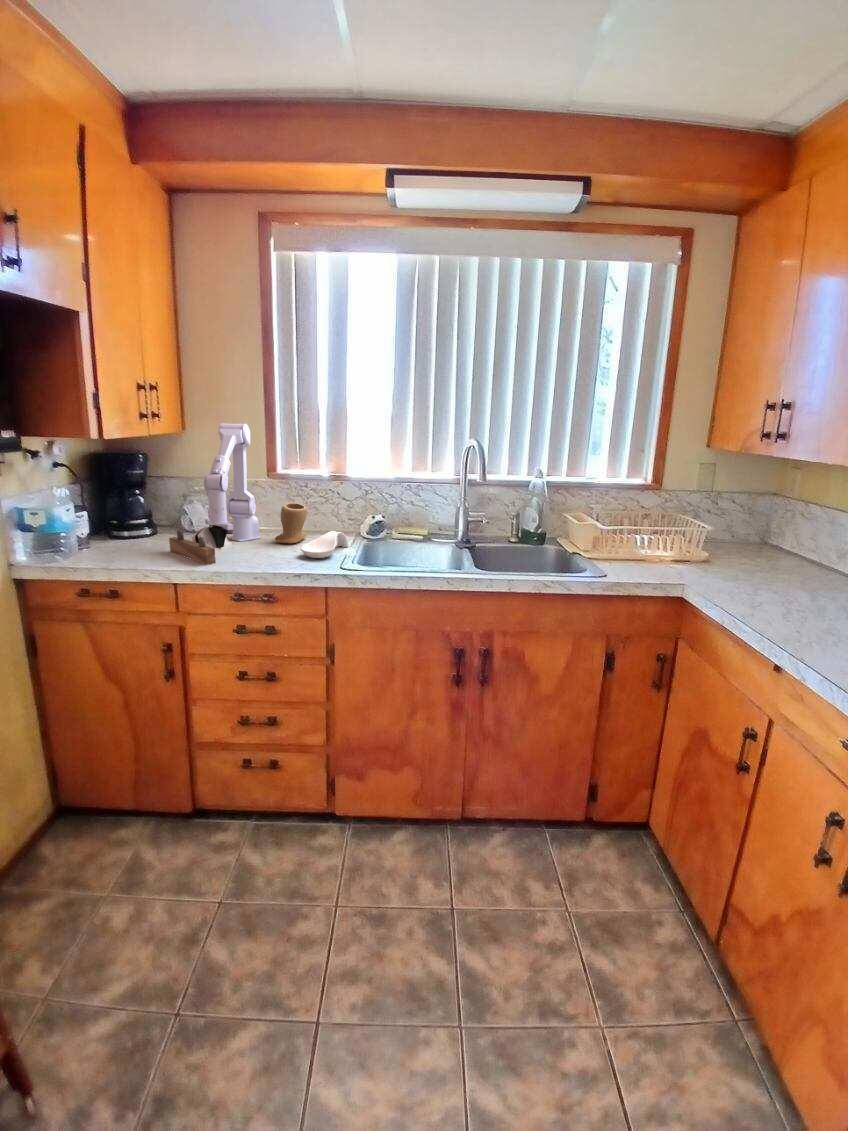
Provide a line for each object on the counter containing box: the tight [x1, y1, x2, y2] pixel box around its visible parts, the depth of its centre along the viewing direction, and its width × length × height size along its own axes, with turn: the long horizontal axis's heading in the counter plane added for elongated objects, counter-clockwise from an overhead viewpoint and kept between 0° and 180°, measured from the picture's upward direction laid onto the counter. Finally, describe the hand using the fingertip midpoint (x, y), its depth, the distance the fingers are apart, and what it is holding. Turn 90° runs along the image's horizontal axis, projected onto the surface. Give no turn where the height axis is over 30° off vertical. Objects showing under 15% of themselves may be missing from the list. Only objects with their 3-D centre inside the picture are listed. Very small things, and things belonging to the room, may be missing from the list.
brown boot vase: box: [274, 502, 308, 544], centre depth 218 cm, size 15×12×15 cm
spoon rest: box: [300, 530, 349, 559], centre depth 202 cm, size 24×12×7 cm, turn 160°
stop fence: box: [168, 530, 217, 565], centre depth 190 cm, size 3×24×8 cm, turn 50°
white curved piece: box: [191, 525, 234, 556], centre depth 199 cm, size 17×5×10 cm, turn 172°
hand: (220, 547), depth 198 cm, fingers closed
